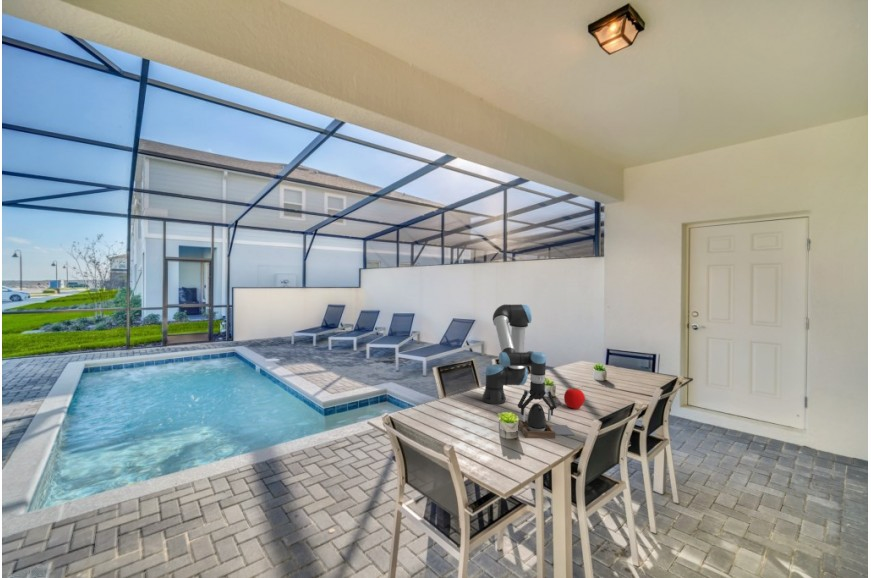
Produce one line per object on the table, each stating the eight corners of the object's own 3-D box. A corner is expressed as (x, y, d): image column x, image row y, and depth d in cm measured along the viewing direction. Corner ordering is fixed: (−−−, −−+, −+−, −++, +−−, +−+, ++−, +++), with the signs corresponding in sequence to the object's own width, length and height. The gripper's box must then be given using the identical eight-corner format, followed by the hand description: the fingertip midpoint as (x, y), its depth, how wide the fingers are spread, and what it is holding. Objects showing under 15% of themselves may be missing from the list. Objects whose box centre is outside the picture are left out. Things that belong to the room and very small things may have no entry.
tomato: (563, 409, 235) (564, 389, 234) (563, 403, 246) (564, 384, 245) (585, 412, 231) (585, 391, 230) (584, 405, 242) (584, 386, 241)
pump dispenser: (532, 436, 195) (533, 407, 194) (522, 428, 205) (523, 401, 204) (550, 434, 198) (551, 406, 197) (539, 426, 208) (540, 399, 207)
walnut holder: (518, 425, 209) (518, 420, 209) (546, 425, 209) (546, 420, 209) (525, 437, 193) (525, 432, 193) (555, 438, 193) (555, 432, 193)
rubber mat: (546, 425, 209) (546, 424, 209) (566, 426, 209) (566, 425, 209) (553, 435, 197) (553, 434, 197) (574, 435, 197) (574, 434, 197)
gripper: (515, 383, 196) (514, 423, 197) (563, 384, 196) (562, 424, 197) (512, 379, 204) (511, 417, 205) (558, 380, 204) (557, 418, 205)
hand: (536, 421), depth 201 cm, fingers open, 13 cm apart
